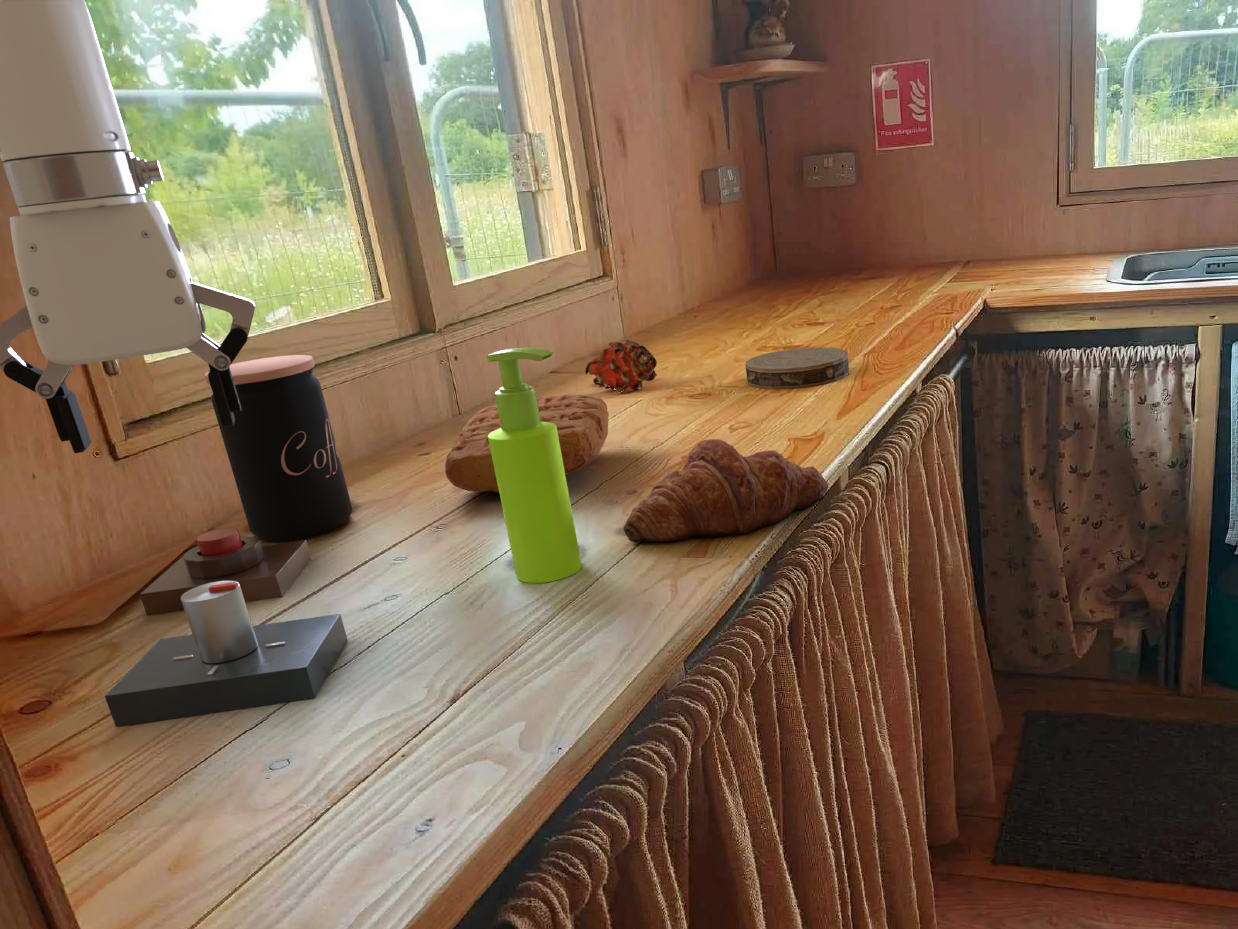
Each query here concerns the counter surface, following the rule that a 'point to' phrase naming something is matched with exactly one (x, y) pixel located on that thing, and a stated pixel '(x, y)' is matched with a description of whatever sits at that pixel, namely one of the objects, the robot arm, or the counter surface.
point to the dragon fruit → (623, 366)
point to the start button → (219, 541)
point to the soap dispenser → (531, 477)
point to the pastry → (723, 495)
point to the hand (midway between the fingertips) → (157, 436)
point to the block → (230, 573)
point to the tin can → (797, 368)
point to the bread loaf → (572, 415)
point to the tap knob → (219, 621)
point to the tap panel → (229, 673)
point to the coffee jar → (284, 451)
